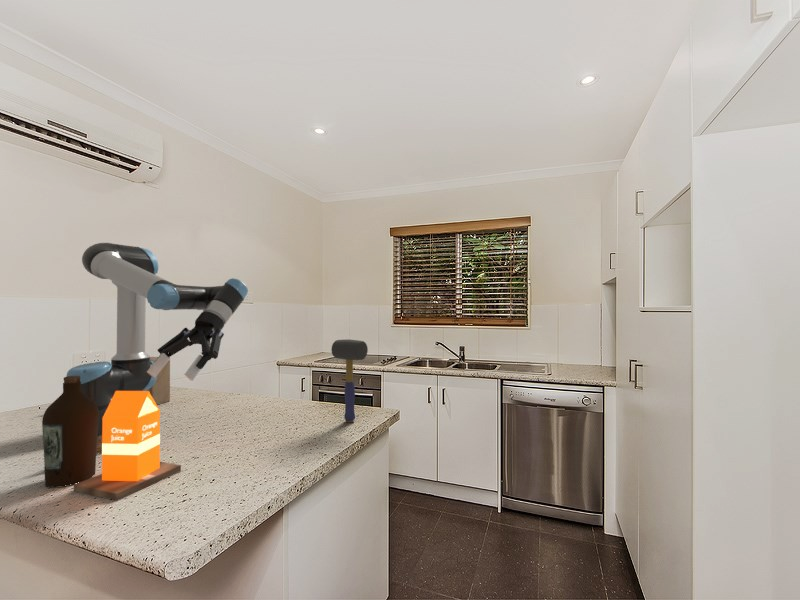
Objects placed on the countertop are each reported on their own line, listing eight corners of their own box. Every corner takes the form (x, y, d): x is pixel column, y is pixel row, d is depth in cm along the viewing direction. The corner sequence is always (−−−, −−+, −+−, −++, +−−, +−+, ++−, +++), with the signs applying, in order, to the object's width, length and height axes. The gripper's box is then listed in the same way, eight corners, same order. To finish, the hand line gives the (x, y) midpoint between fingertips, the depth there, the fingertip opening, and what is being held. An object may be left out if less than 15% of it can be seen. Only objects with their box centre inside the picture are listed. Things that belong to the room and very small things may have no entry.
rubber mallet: (329, 421, 140) (329, 339, 141) (342, 416, 147) (342, 338, 147) (357, 427, 134) (356, 340, 135) (369, 421, 140) (369, 339, 141)
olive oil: (81, 467, 101) (82, 372, 102) (108, 473, 97) (109, 374, 98) (31, 484, 91) (32, 379, 92) (58, 492, 87) (59, 381, 88)
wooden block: (152, 407, 164) (152, 360, 164) (132, 406, 166) (132, 359, 166) (170, 401, 174) (170, 357, 174) (151, 400, 176) (151, 356, 176)
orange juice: (126, 466, 97) (127, 387, 98) (160, 467, 97) (160, 387, 97) (100, 480, 90) (101, 394, 90) (137, 481, 89) (137, 394, 89)
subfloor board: (73, 491, 88) (73, 484, 88) (141, 464, 103) (141, 458, 103) (116, 500, 83) (116, 493, 83) (180, 471, 98) (180, 464, 98)
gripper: (252, 327, 116) (213, 387, 102) (189, 326, 125) (145, 381, 110) (240, 310, 111) (196, 370, 97) (175, 310, 120) (126, 365, 105)
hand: (169, 376), depth 103 cm, fingers open, 13 cm apart
